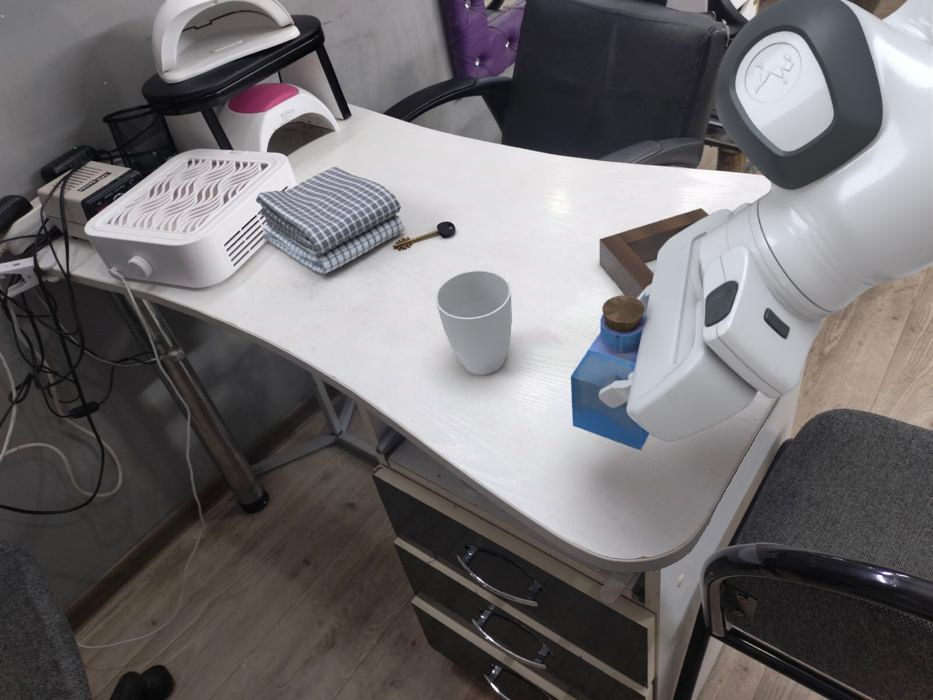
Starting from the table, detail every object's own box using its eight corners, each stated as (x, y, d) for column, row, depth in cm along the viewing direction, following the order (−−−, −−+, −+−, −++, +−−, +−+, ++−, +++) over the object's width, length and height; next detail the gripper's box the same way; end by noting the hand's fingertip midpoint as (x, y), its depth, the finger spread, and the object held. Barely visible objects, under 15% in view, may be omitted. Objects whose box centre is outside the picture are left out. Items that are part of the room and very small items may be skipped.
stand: (698, 233, 92) (701, 207, 89) (764, 294, 81) (770, 267, 78) (599, 264, 90) (599, 238, 87) (654, 331, 79) (656, 304, 77)
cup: (528, 343, 81) (521, 276, 74) (502, 391, 76) (493, 324, 69) (466, 330, 84) (454, 265, 77) (437, 376, 79) (422, 310, 72)
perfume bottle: (667, 400, 60) (677, 294, 52) (640, 450, 57) (647, 345, 49) (602, 379, 63) (602, 276, 55) (572, 425, 60) (568, 322, 51)
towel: (327, 284, 94) (311, 237, 89) (261, 239, 105) (243, 195, 100) (410, 233, 101) (400, 186, 96) (340, 195, 112) (327, 151, 106)
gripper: (737, 166, 52) (608, 260, 62) (722, 348, 38) (559, 432, 48) (790, 219, 54) (656, 303, 63) (793, 412, 40) (622, 480, 50)
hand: (614, 360), depth 56 cm, fingers closed on perfume bottle, 7 cm apart
